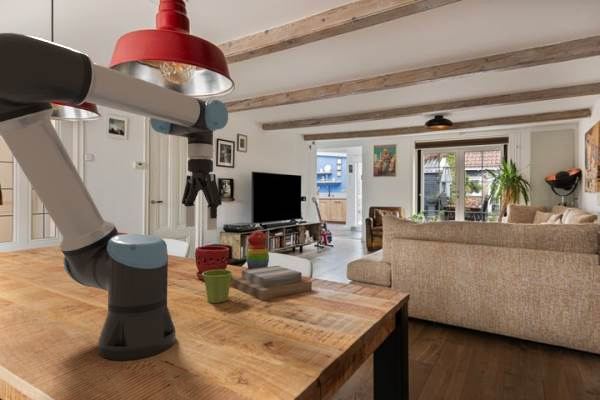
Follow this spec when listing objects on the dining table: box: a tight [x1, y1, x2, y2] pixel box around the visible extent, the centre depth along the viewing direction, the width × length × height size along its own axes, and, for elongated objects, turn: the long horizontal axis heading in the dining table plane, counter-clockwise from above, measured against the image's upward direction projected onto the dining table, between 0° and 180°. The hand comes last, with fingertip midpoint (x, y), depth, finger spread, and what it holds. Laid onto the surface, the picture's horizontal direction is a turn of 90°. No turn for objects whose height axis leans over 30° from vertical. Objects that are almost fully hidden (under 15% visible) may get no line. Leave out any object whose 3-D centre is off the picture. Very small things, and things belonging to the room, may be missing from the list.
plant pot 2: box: [202, 269, 234, 304], centre depth 107 cm, size 9×9×9 cm
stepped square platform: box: [232, 265, 313, 301], centre depth 122 cm, size 20×20×6 cm
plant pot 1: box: [194, 245, 230, 280], centre depth 138 cm, size 13×13×12 cm
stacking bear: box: [245, 230, 270, 270], centre depth 146 cm, size 11×10×18 cm
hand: (200, 228), depth 107 cm, fingers open, 13 cm apart
